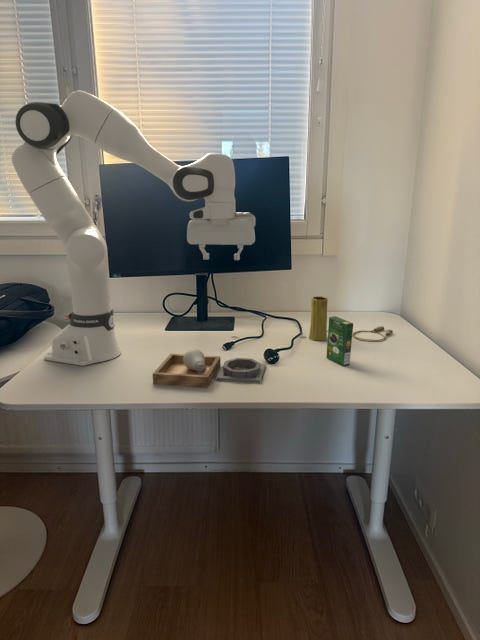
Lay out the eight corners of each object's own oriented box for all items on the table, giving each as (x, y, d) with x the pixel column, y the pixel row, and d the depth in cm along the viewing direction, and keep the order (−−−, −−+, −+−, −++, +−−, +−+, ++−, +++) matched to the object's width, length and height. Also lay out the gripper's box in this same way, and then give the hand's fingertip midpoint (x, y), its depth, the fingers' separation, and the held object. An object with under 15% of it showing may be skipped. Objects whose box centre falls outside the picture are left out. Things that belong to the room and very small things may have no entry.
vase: (319, 342, 148) (321, 301, 144) (305, 337, 152) (306, 297, 148) (330, 338, 152) (332, 298, 148) (316, 334, 156) (318, 295, 152)
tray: (153, 384, 116) (152, 373, 116) (171, 363, 131) (170, 353, 130) (208, 388, 114) (208, 377, 113) (220, 366, 128) (220, 356, 127)
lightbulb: (190, 362, 115) (179, 348, 125) (193, 382, 117) (182, 368, 127) (212, 356, 117) (199, 343, 127) (214, 377, 119) (202, 363, 129)
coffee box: (351, 365, 128) (354, 322, 125) (343, 367, 127) (346, 323, 123) (333, 356, 135) (335, 315, 131) (325, 358, 134) (328, 316, 130)
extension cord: (403, 341, 150) (403, 335, 150) (361, 344, 147) (361, 338, 146) (384, 330, 162) (384, 325, 161) (344, 333, 158) (345, 328, 158)
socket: (216, 380, 119) (216, 371, 118) (225, 363, 130) (225, 355, 129) (260, 383, 117) (260, 374, 116) (265, 366, 128) (265, 358, 127)
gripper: (257, 211, 130) (257, 258, 134) (190, 211, 133) (192, 257, 137) (254, 212, 124) (254, 261, 128) (184, 212, 127) (186, 260, 131)
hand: (221, 259), depth 132 cm, fingers open, 8 cm apart
